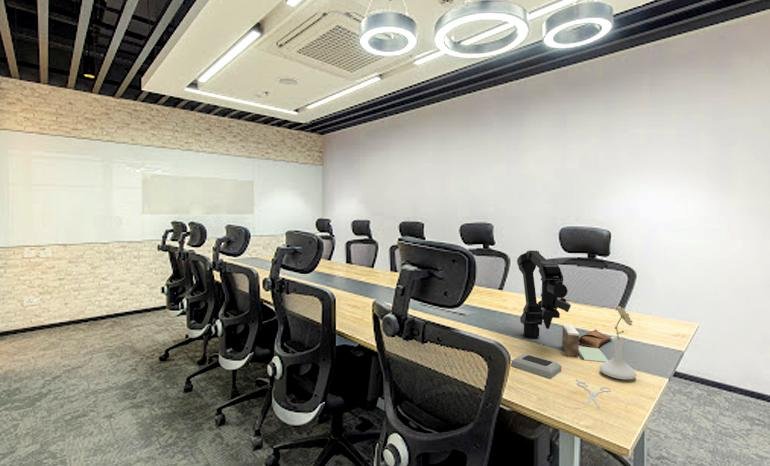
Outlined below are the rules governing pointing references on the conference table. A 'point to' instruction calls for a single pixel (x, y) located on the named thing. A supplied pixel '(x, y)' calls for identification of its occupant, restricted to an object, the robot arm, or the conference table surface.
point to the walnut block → (570, 341)
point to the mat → (591, 354)
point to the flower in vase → (619, 354)
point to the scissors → (593, 395)
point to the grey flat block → (536, 365)
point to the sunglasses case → (593, 339)
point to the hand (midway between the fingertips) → (547, 328)
